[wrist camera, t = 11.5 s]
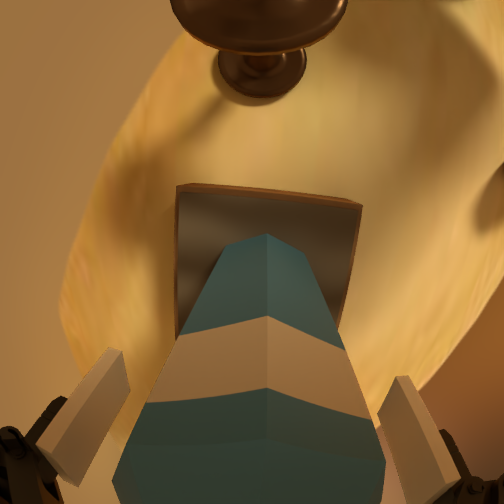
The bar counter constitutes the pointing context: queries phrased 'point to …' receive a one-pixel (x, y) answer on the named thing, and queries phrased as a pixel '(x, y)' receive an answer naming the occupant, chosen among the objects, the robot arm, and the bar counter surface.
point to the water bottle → (255, 397)
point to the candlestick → (260, 38)
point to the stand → (258, 223)
